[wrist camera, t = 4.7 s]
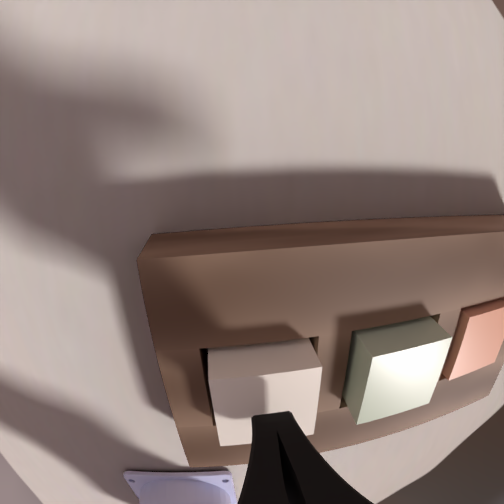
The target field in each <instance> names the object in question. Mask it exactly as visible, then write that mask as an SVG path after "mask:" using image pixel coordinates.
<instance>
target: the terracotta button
mask: <svg viewBox="0 0 504 504" xmlns="http://www.w3.org/2000/svg"><path fill="white" fill-rule="evenodd" d="M503 340H504V297H502V298H499V299H495V300H492V301H488V302H484V303H481V304H477V305H473V306H469V307H465V308H461V312H460V316H459V319H458V323H457V327H456V330H455V333H454V337H453V340H452V343H451V346H450V350H449V353H448V356H447V359H446V362H445V365H444V367H443V370H442V374H443V375H444V376H445V377H446V378H447V380H448V381H449V380H452V379H455V378H457V377H460V376H463V375H465V374H468V373H470V372H473V371H475V370H478V369H480V368H482V367H485V366H487V365H489V364H492V363H494V362H495V360H496V358H497V355H498V353H499V350H500V348H501V345H502V342H503Z"/></svg>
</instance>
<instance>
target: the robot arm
mask: <svg viewBox="0 0 504 504" xmlns="http://www.w3.org/2000/svg"><path fill="white" fill-rule="evenodd" d="M251 423H252V443H251V451H250V457H249V463H248V468H247V472H246V476H245V480H244V484H243V488H242V491H241V494H240V498H239V501H238V503H237V499H236V494H235V489H234V484H233V478H232V473H231V472H229V471H210V472H140V471H125V472H124V475H123V476H124V478H125V480H126V481H127V483H128V484H129V486H130V487H131V489H132V490H133V492H134V493H135V494H136V496H137V497H138V499H139V504H373V503H372V502H370V501H369V500H368V499H366V498H365V497H364V496H362V495H361V494H360V493H359V492H357V491H356V490H355V489H354V488H353V487H351V486H350V485H349V484H348V483H347V482H346V481H345V480H344V479H343V478H342V477H341V476H339V475H338V474H337V473H336V471H335V470H334V469H333V468H332V467H331V466H330V465H329V464H328V463H327V462H326V461H325V460H324V458H323V457H322V456H321V455H320V454H319V452H318V451H317V450H316V449H315V447H314V446H313V445H312V444H311V442H310V441H309V440H308V438H307V437H306V435H305V434H304V432H303V431H302V429H301V428H300V426H299V425H298V423H297V421H296V420H295V418H294V416H293V414H292V412H290V411H284V412H277V413H269V414H261V415H254V416H253V417H251Z"/></svg>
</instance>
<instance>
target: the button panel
mask: <svg viewBox="0 0 504 504" xmlns="http://www.w3.org/2000/svg"><path fill="white" fill-rule="evenodd" d="M137 265H138V271H139V276H140V282H141V287H142V292H143V298H144V303H145V307H146V312H147V317H148V322H149V326H150V331H151V335H152V339H153V344H154V348H155V352H156V356H157V360H158V364H159V368H160V372H161V376H162V379H163V383H164V387H165V390H166V394H167V397H168V401H169V404H170V408H171V411H172V414H173V418H174V421H175V424H176V427H177V430H178V434H179V437H180V440H181V443H182V446H183V449H184V452H185V455H186V457H187V460H188V463H189V466H190V467H212V466H228V465H240V464H248V463H249V457H250V451H251V444H241V445H230V446H220V442H219V437H218V432H217V426H216V421H215V415H214V410H213V404H212V398H211V393H210V387H209V381H208V359H207V353H206V348H215V347H227V346H238V345H249V344H259V343H268V342H277V341H285V340H293V339H301V338H309V340H310V342H311V344H312V346H313V348H314V350H315V352H316V354H317V357H318V359H319V361H320V363H321V365H322V374H321V383H320V391H319V399H318V407H317V415H316V422H315V429H314V434H312V435H307V436H306V437H307V438H308V440H309V441H310V442H311V444H312V445H313V446H314V447H315V449H316V450H317V451H318V452H319V453H321V452H325V451H330V450H334V449H339V448H343V447H347V446H351V445H355V444H359V443H363V442H366V441H370V440H374V439H377V438H380V437H384V436H387V435H390V434H393V433H397V432H400V431H403V430H406V429H409V428H411V427H414V426H417V425H420V424H423V423H425V422H428V421H431V420H433V419H436V418H438V417H441V416H443V415H446V414H448V413H451V412H453V411H455V410H458V409H460V408H462V407H465V406H467V405H469V404H471V403H473V402H476V401H478V400H480V399H482V398H484V397H486V396H488V395H489V393H490V391H491V389H492V387H493V385H494V383H495V381H496V379H497V376H498V374H499V372H500V370H501V367H502V365H503V363H504V340H503V342H502V345H501V348H500V350H499V353H498V355H497V358H496V360H495V362H494V363H492V364H489V365H487V366H485V367H482V368H480V369H478V370H475V371H473V372H470V373H468V374H465V375H463V376H460V377H457V378H455V379H452V380H449V381H448V380H447V378H446V377H445V376H444V375H443V374H442V370H443V367H444V365H445V362H446V359H447V356H448V353H449V350H450V346H451V343H452V340H453V337H454V333H455V330H456V327H457V323H458V319H459V316H460V312H461V308H465V307H469V306H473V305H477V304H481V303H484V302H488V301H492V300H495V299H499V298H502V297H504V215H474V216H440V217H413V218H390V219H368V220H348V221H330V222H313V223H296V224H280V225H265V226H251V227H237V228H223V229H210V230H198V231H185V232H173V233H162V234H152V235H151V236H150V238H149V240H148V241H147V243H146V245H145V246H144V248H143V250H142V252H141V253H140V255H139V257H138V258H137ZM427 316H430V317H431V318H432V319H434V320H435V321H436V322H437V323H438V324H439V325H440V326H441V327H442V328H443V329H444V330H445V331H446V332H447V333H448V334H450V335H451V336H452V340H451V343H450V346H449V350H448V353H447V356H446V359H445V362H444V365H443V367H442V370H441V373H440V376H439V379H438V381H437V384H436V387H435V389H434V392H433V394H432V397H431V399H430V402H429V403H428V404H425V405H422V406H419V407H416V408H413V409H410V410H407V411H404V412H401V413H398V414H394V415H391V416H388V417H384V418H381V419H377V420H374V421H370V422H366V423H362V424H358V425H356V423H355V421H354V419H353V417H352V415H351V413H350V410H349V408H348V406H347V404H346V402H345V400H344V398H343V396H342V391H343V386H344V380H345V374H346V368H347V362H348V356H349V349H350V342H351V335H352V331H355V330H361V329H366V328H372V327H377V326H383V325H388V324H393V323H398V322H403V321H408V320H413V319H418V318H422V317H427Z"/></svg>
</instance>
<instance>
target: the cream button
mask: <svg viewBox="0 0 504 504" xmlns="http://www.w3.org/2000/svg"><path fill="white" fill-rule="evenodd" d="M321 374H322V365H321V363H320V361H319V359H318V357H317V354H316V352H315V350H314V348H313V346H312V344H311V342H310V340H309V338H301V339H293V340H285V341H277V342H268V343H259V344H249V345H238V346H227V347H215V348H208V381H209V387H210V393H211V398H212V404H213V410H214V415H215V421H216V426H217V432H218V437H219V442H220V446H230V445H241V444H251V443H252V423H251V417H253V416H254V415H261V414H269V413H277V412H284V411H290V412H292V414H293V416H294V418H295V420H296V421H297V423H298V425H299V426H300V428H301V429H302V431H303V432H304V434H305V435H306V436H307V435H312V434H314V429H315V422H316V415H317V407H318V399H319V391H320V383H321Z"/></svg>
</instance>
